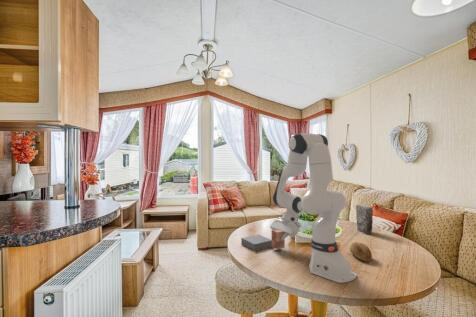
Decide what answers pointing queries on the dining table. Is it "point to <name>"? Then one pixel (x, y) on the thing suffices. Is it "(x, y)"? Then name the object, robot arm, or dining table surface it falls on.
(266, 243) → the base block
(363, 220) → the stone block
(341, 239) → the dining table surface
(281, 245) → the terracotta block
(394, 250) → the dining table surface
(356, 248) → the bread roll
